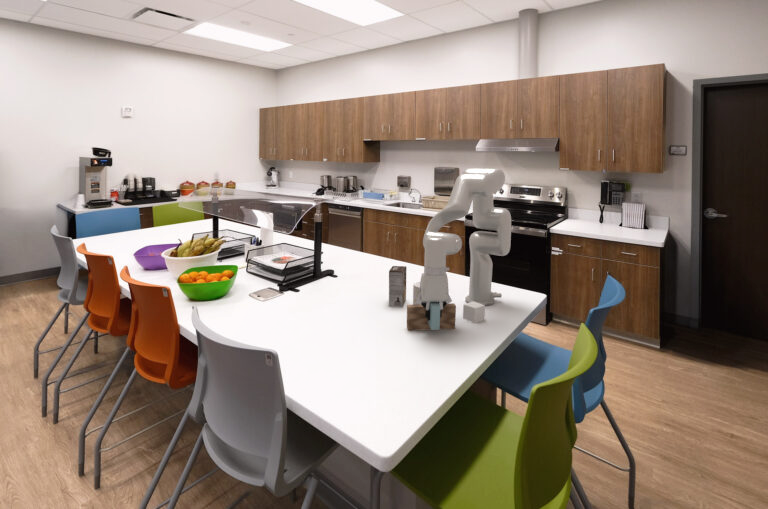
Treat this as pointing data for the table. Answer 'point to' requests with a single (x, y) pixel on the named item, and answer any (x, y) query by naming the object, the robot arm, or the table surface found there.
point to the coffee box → (397, 286)
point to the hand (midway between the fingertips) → (433, 318)
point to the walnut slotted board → (420, 322)
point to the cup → (416, 292)
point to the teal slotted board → (434, 316)
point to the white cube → (473, 311)
